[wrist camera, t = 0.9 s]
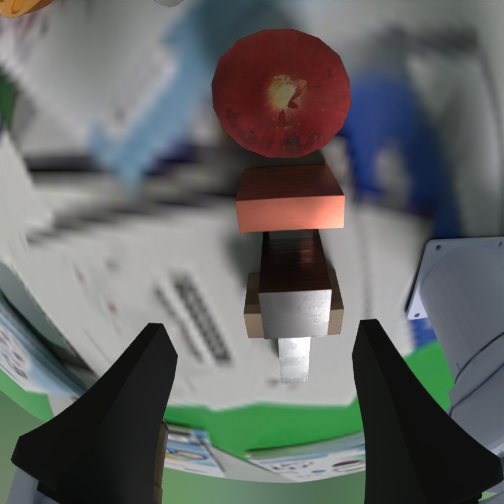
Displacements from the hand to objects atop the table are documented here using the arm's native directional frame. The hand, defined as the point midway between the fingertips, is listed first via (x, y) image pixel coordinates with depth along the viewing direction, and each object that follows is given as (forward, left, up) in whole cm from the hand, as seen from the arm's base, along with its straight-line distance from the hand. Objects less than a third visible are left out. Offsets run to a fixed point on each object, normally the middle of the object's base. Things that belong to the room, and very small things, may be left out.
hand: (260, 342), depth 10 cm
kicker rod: (-1, +6, -10) cm, 12 cm away
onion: (-1, -8, -10) cm, 13 cm away
